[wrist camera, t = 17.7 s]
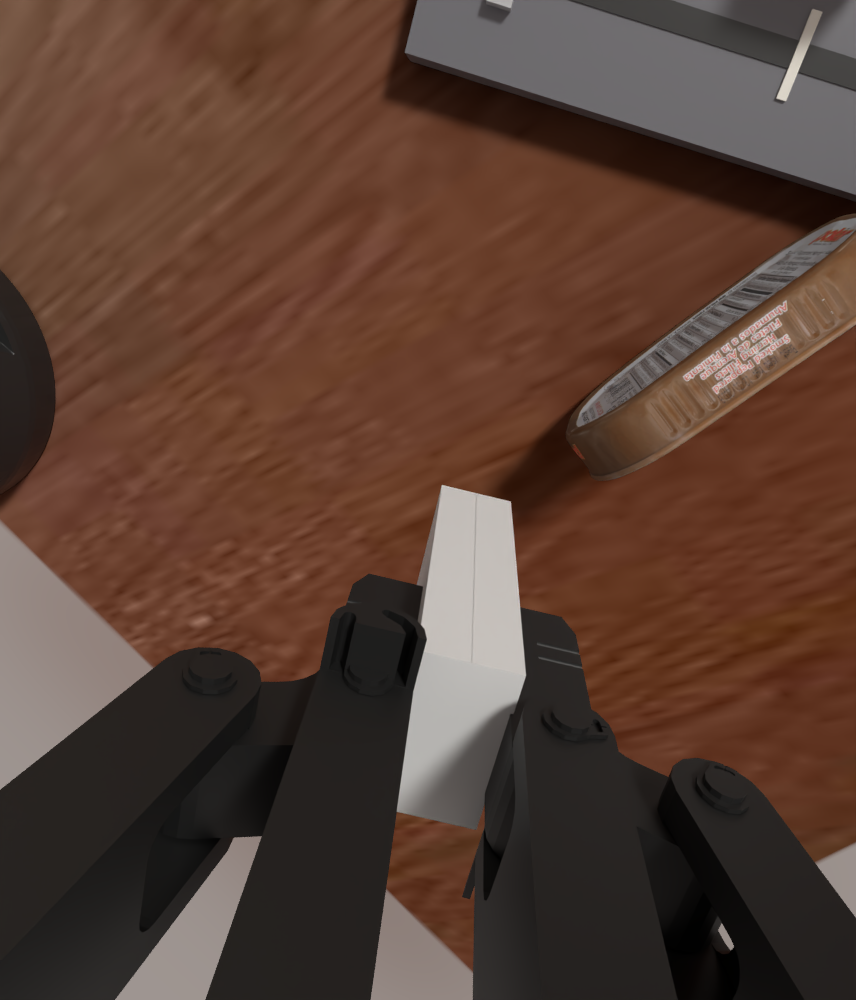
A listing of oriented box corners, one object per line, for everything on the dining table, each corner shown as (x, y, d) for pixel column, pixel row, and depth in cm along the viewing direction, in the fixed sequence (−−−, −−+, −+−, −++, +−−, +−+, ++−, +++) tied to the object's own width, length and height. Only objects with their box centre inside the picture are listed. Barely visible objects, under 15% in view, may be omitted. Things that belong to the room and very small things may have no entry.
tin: (586, 454, 39) (606, 515, 32) (548, 405, 39) (559, 455, 31) (866, 254, 35) (970, 266, 27) (829, 195, 34) (924, 191, 27)
